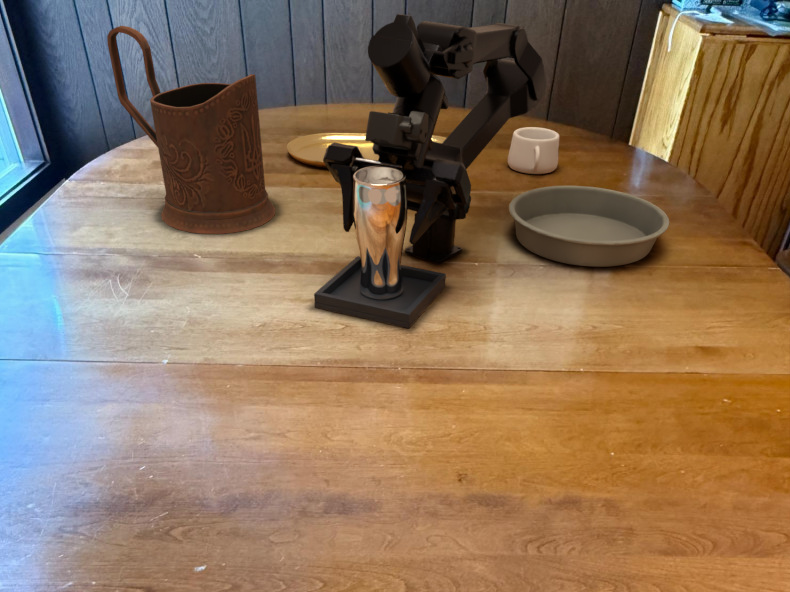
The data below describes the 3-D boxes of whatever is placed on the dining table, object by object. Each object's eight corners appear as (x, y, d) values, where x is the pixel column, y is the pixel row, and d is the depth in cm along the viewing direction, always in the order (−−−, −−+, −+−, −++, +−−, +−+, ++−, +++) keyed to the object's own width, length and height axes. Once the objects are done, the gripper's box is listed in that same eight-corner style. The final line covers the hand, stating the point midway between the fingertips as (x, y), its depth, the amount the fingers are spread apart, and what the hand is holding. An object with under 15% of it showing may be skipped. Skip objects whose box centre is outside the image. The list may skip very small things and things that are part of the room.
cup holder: (243, 241, 119) (222, 52, 102) (108, 218, 124) (67, 36, 108) (293, 201, 132) (282, 29, 115) (169, 182, 137) (141, 15, 121)
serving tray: (357, 269, 113) (357, 255, 111) (445, 287, 109) (446, 273, 108) (314, 307, 103) (313, 293, 102) (409, 328, 99) (409, 314, 98)
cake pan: (689, 268, 116) (697, 238, 113) (531, 276, 112) (535, 245, 109) (627, 209, 134) (633, 182, 131) (489, 214, 130) (492, 186, 127)
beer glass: (386, 306, 102) (384, 189, 92) (345, 291, 105) (339, 177, 95) (417, 286, 106) (418, 172, 96) (377, 273, 109) (374, 161, 99)
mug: (505, 158, 153) (509, 125, 149) (554, 160, 153) (559, 127, 149) (508, 178, 144) (512, 143, 140) (560, 180, 144) (566, 146, 140)
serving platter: (471, 172, 146) (472, 163, 145) (284, 170, 144) (284, 161, 143) (460, 142, 160) (460, 134, 159) (289, 140, 158) (289, 132, 157)
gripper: (326, 70, 94) (289, 192, 94) (472, 89, 89) (432, 218, 89) (355, 125, 105) (321, 235, 105) (486, 145, 100) (451, 260, 100)
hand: (378, 236), depth 99 cm, fingers open, 9 cm apart
